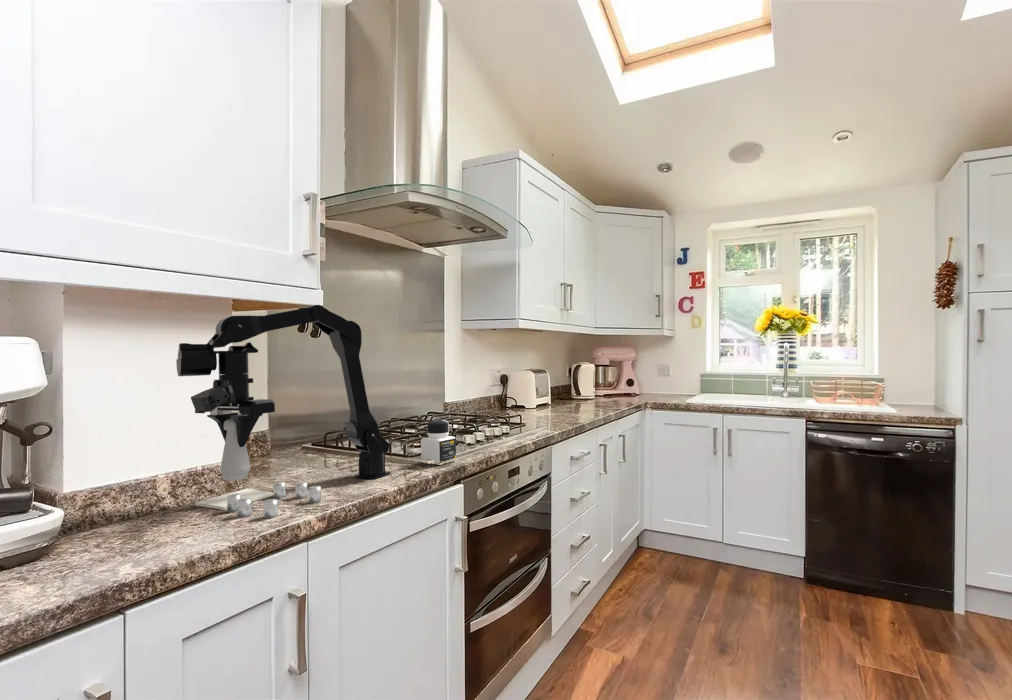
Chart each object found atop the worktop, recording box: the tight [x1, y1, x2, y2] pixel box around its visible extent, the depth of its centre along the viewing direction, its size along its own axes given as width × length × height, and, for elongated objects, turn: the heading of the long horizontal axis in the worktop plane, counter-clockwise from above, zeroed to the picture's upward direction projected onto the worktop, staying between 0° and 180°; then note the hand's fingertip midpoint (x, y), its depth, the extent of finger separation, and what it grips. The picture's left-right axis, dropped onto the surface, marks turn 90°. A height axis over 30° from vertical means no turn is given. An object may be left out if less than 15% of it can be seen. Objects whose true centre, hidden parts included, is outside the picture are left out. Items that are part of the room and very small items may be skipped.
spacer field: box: [226, 481, 322, 519], centre depth 106 cm, size 16×13×3 cm
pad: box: [194, 488, 274, 511], centre depth 111 cm, size 12×9×1 cm
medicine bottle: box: [420, 419, 457, 462], centre depth 147 cm, size 7×7×12 cm
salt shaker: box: [219, 419, 252, 482], centre depth 111 cm, size 6×6×13 cm
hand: (235, 446), depth 111 cm, fingers closed on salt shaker, 4 cm apart
